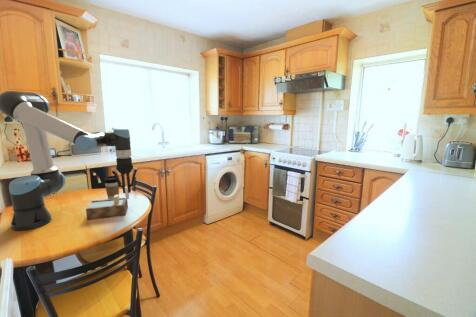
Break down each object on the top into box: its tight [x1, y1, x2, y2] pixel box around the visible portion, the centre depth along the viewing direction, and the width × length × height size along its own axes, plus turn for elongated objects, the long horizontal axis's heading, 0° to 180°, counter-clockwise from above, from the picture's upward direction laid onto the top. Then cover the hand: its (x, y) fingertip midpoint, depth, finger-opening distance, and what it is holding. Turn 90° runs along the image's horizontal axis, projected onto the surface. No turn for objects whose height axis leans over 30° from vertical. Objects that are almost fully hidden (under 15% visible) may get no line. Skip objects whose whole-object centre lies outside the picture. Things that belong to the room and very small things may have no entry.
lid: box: [87, 193, 124, 208], centre depth 129 cm, size 16×9×5 cm, turn 108°
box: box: [85, 197, 129, 221], centre depth 130 cm, size 18×12×6 cm, turn 108°
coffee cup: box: [103, 175, 120, 199], centre depth 148 cm, size 8×8×15 cm
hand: (127, 198), depth 132 cm, fingers closed
